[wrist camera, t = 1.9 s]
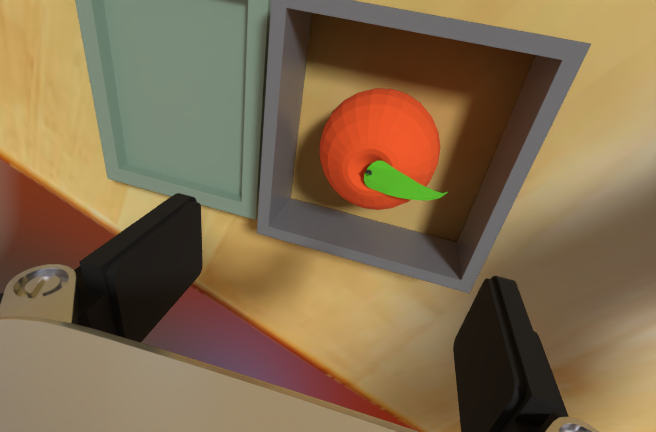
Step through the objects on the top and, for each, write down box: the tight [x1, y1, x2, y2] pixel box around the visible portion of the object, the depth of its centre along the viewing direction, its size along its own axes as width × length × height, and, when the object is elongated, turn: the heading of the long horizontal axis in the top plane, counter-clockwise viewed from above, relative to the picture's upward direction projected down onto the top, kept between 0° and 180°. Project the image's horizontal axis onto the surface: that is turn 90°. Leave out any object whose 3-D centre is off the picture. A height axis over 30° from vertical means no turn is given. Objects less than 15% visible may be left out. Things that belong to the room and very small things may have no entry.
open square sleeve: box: [257, 0, 591, 293], centre depth 22 cm, size 15×15×4 cm
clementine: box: [320, 88, 448, 210], centre depth 21 cm, size 8×7×7 cm
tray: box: [75, 0, 271, 220], centre depth 25 cm, size 13×16×2 cm
